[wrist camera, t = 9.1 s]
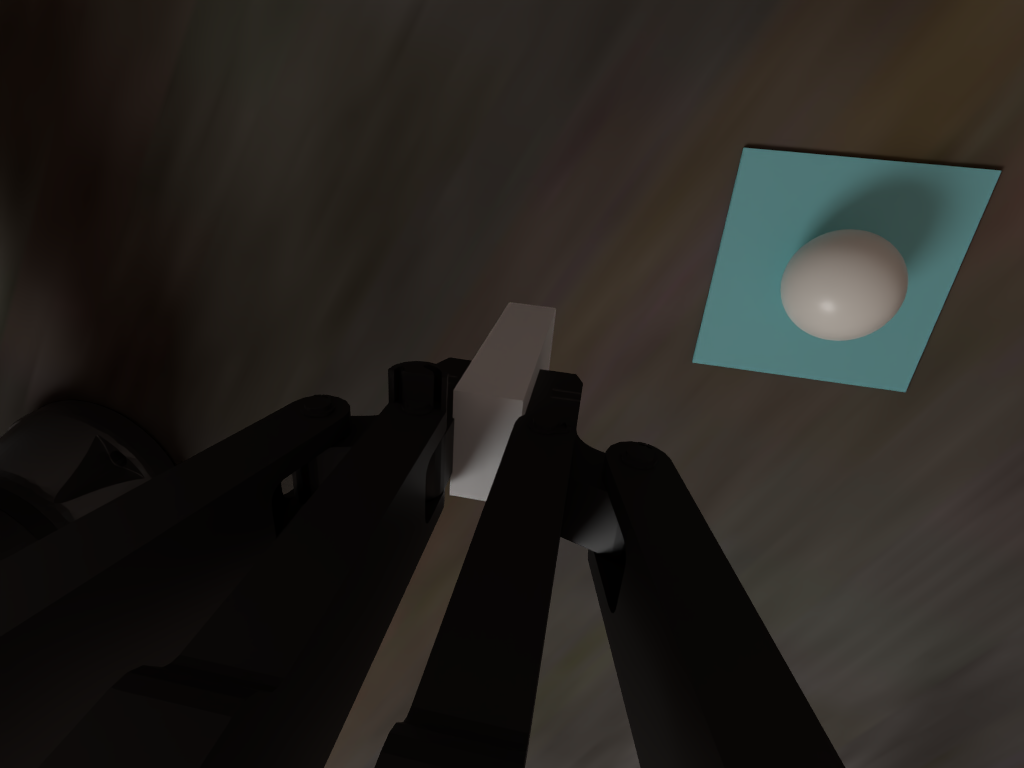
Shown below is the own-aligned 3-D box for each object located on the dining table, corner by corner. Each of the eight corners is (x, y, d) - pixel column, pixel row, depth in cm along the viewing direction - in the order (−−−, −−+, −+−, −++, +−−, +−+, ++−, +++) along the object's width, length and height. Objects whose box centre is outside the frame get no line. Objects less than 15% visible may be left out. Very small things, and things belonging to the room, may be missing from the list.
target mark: (692, 361, 34) (692, 362, 34) (743, 147, 28) (744, 147, 28) (903, 390, 32) (905, 392, 32) (999, 170, 27) (1001, 170, 27)
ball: (774, 312, 32) (759, 338, 28) (804, 215, 30) (792, 227, 26) (882, 336, 30) (884, 367, 26) (923, 233, 28) (933, 249, 23)
